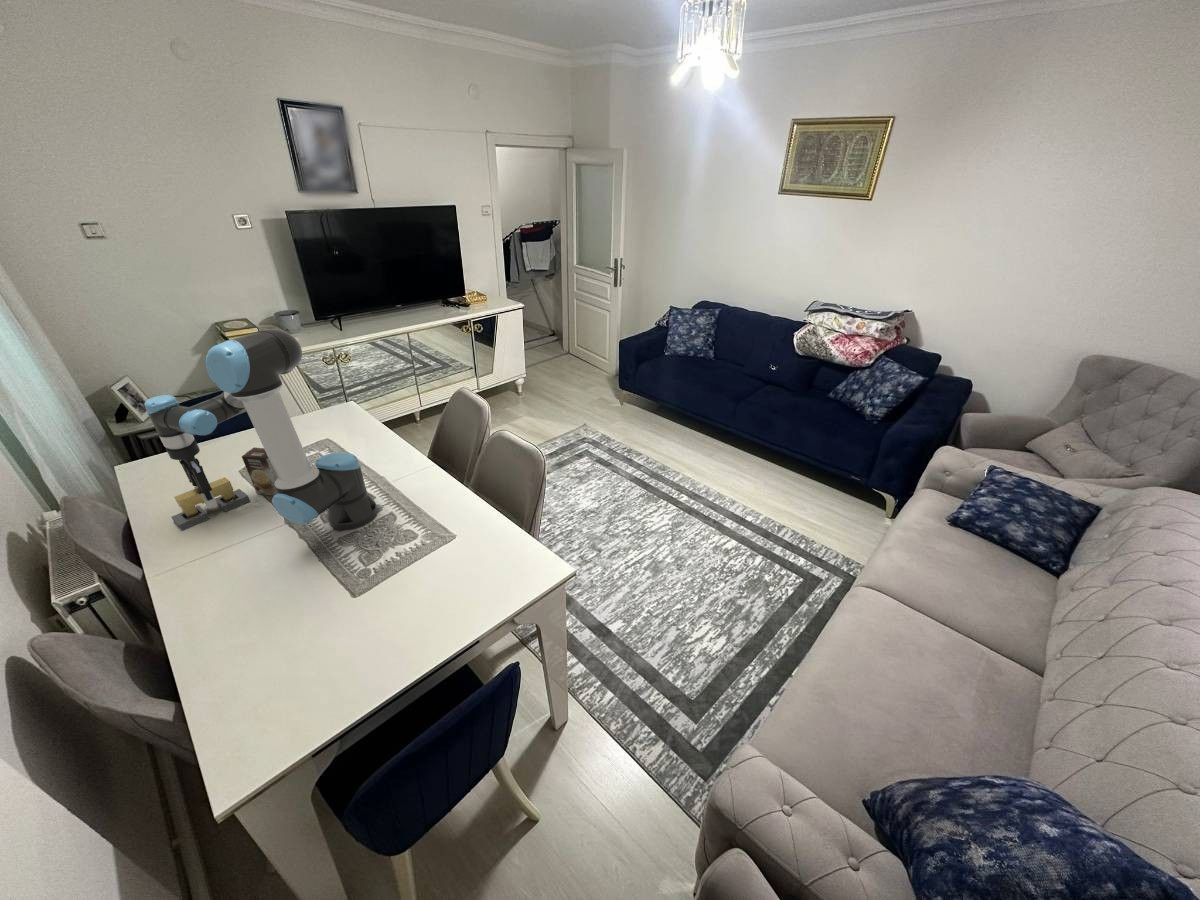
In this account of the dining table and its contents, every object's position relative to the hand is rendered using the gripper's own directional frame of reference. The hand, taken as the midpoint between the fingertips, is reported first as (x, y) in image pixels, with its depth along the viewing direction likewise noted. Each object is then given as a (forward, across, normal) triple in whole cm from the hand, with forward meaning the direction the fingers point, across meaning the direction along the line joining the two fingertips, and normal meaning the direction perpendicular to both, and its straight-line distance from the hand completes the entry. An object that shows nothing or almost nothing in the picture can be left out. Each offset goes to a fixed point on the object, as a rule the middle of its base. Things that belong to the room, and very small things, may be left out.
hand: (209, 504), depth 161 cm
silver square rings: (+3, 0, 0) cm, 3 cm away
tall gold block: (0, 0, 0) cm, 0 cm away
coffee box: (+3, -3, -18) cm, 19 cm away
